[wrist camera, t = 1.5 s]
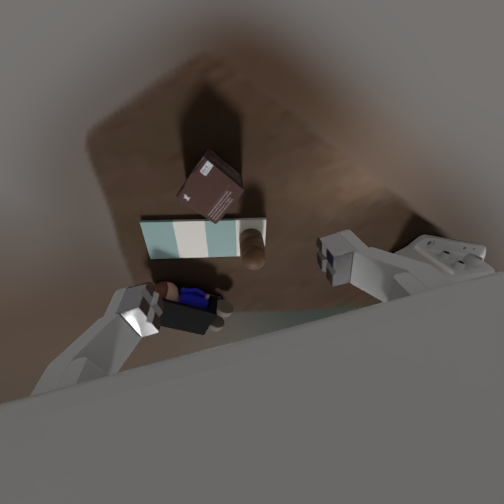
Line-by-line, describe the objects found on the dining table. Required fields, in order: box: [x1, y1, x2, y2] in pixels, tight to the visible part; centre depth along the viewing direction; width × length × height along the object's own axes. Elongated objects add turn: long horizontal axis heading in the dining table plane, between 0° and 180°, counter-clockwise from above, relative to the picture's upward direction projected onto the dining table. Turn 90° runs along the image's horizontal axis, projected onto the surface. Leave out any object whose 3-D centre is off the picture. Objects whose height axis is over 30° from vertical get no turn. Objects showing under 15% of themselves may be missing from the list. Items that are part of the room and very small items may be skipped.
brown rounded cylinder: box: [239, 228, 266, 270], centre depth 34 cm, size 4×4×8 cm
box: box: [176, 149, 244, 224], centre depth 29 cm, size 6×6×7 cm
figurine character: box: [154, 281, 233, 335], centre depth 42 cm, size 7×8×15 cm
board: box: [140, 218, 266, 259], centre depth 37 cm, size 20×7×1 cm, turn 89°
